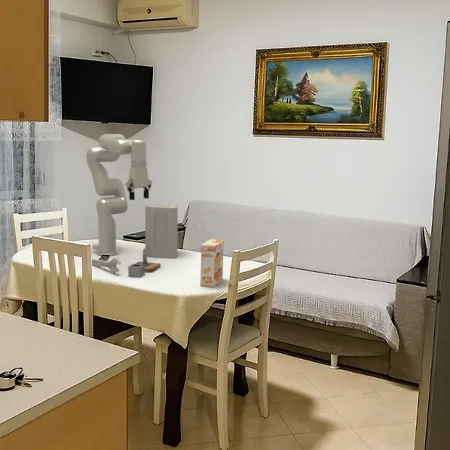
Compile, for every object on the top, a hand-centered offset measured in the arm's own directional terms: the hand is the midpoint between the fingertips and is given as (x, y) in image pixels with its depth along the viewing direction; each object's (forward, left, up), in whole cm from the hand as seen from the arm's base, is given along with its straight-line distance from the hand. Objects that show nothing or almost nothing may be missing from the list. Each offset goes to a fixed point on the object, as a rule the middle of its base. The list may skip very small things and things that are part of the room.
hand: (139, 199), depth 298 cm
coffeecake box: (+44, -17, -35) cm, 59 cm away
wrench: (-14, -12, -35) cm, 40 cm away
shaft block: (+5, -4, -35) cm, 35 cm away
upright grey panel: (+5, +27, -35) cm, 45 cm away
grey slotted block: (+6, -17, -35) cm, 39 cm away
